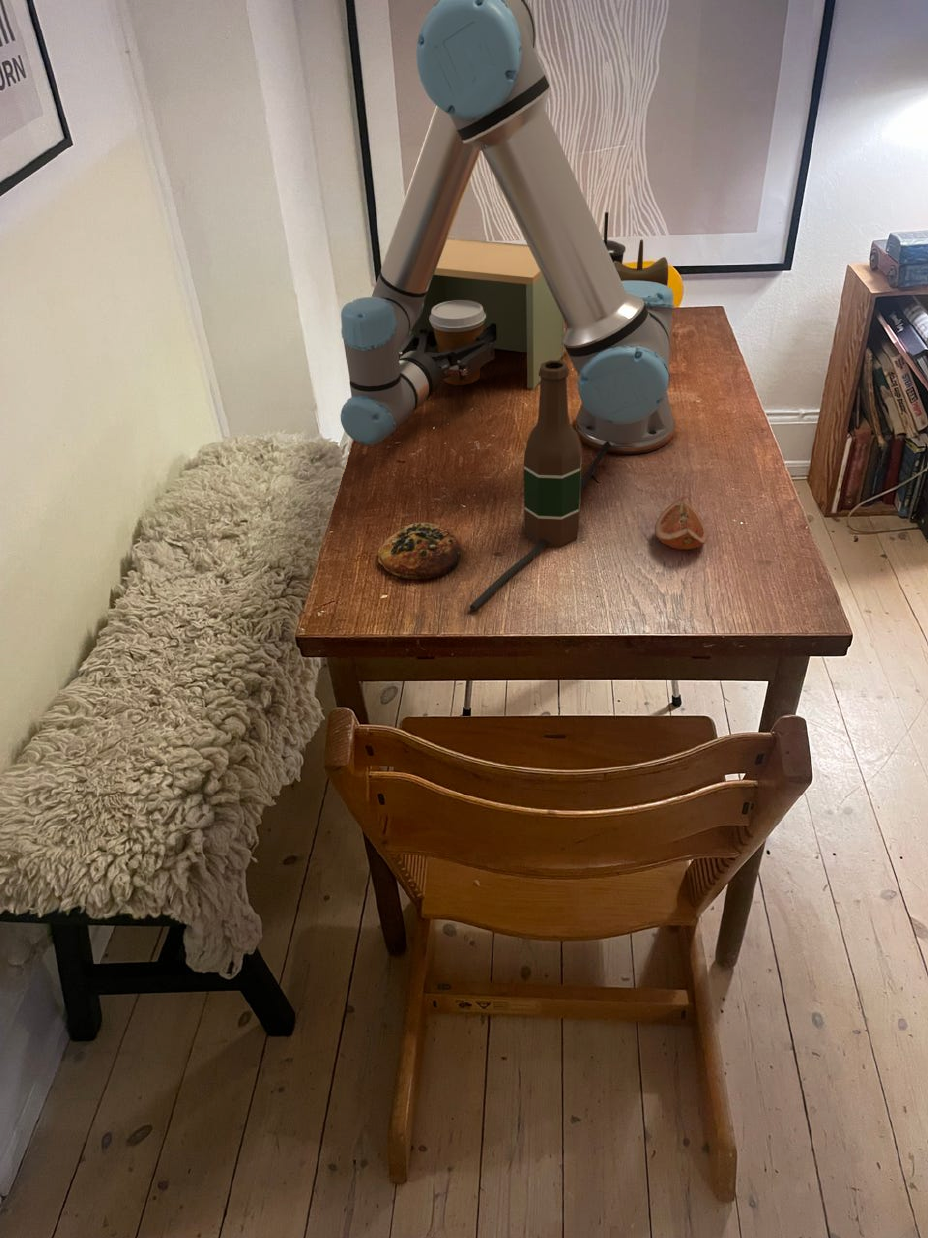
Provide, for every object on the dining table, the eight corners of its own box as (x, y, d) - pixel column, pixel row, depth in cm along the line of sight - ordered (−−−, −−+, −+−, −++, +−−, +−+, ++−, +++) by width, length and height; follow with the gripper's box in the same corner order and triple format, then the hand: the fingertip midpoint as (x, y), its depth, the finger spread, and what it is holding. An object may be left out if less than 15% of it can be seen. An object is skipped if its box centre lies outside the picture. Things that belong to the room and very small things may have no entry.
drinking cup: (625, 312, 182) (631, 207, 170) (617, 327, 177) (623, 219, 164) (587, 310, 185) (591, 205, 172) (578, 324, 179) (581, 217, 166)
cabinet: (533, 389, 158) (532, 277, 146) (409, 370, 167) (398, 263, 155) (563, 354, 168) (565, 247, 156) (445, 339, 177) (438, 236, 165)
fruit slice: (708, 564, 116) (713, 531, 113) (654, 562, 117) (658, 530, 114) (703, 527, 123) (707, 496, 119) (652, 526, 123) (655, 495, 120)
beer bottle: (564, 554, 119) (568, 383, 104) (513, 539, 123) (509, 371, 108) (590, 525, 124) (597, 357, 109) (540, 511, 128) (540, 346, 113)
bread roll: (455, 584, 115) (447, 550, 112) (372, 588, 118) (363, 556, 115) (470, 537, 124) (463, 505, 121) (393, 542, 127) (385, 511, 124)
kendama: (662, 357, 165) (672, 243, 153) (609, 359, 166) (615, 245, 153) (657, 343, 170) (667, 232, 157) (606, 346, 170) (611, 235, 158)
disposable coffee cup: (488, 387, 155) (485, 318, 147) (432, 390, 155) (426, 321, 148) (488, 364, 162) (486, 297, 154) (435, 367, 163) (430, 300, 155)
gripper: (354, 394, 148) (418, 341, 164) (471, 414, 140) (527, 356, 156) (348, 350, 143) (415, 299, 159) (469, 368, 136) (527, 313, 151)
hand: (470, 328), depth 157 cm, fingers closed on disposable coffee cup, 8 cm apart
